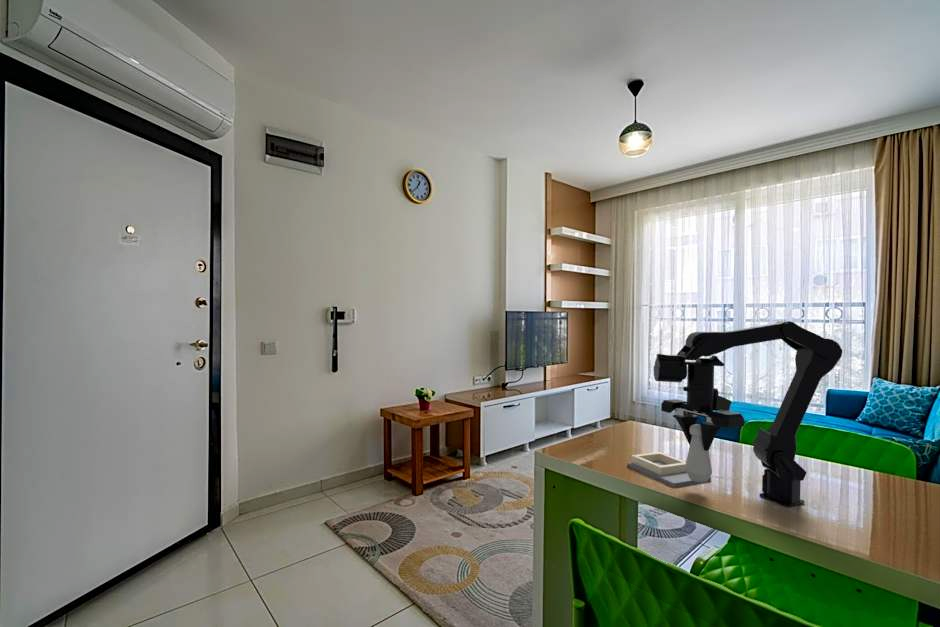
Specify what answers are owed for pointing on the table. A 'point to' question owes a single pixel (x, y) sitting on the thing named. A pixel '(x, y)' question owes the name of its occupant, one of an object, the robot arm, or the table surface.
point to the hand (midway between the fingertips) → (698, 448)
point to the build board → (662, 468)
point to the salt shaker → (698, 457)
